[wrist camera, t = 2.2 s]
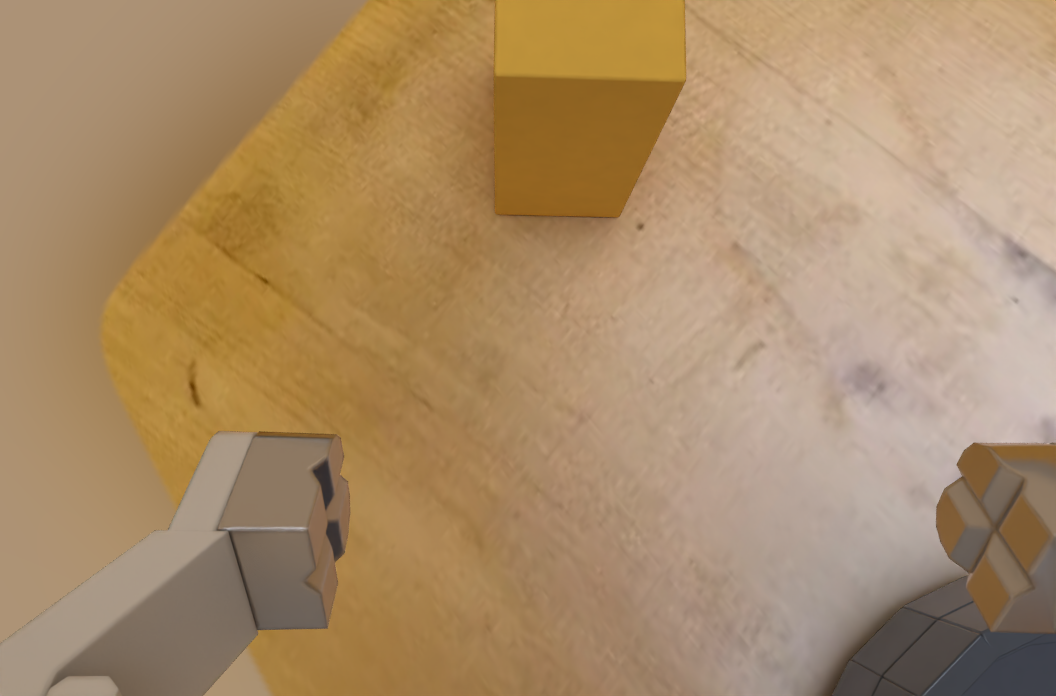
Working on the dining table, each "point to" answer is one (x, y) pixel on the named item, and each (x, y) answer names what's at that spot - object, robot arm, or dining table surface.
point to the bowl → (949, 654)
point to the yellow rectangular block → (581, 100)
